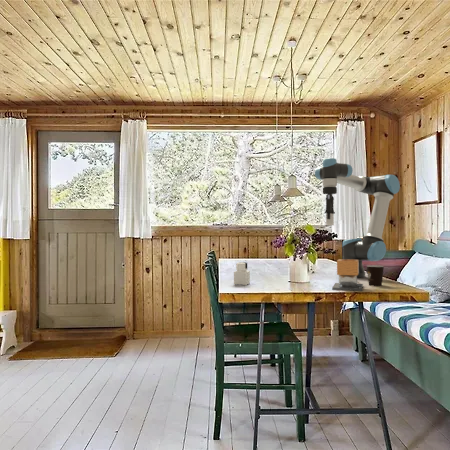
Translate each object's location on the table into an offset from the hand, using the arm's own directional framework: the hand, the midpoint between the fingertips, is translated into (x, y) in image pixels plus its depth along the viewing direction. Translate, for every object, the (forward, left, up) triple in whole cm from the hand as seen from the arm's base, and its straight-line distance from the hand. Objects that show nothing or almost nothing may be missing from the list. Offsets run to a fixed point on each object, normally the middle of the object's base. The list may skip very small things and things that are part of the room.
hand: (330, 225), depth 240 cm
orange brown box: (+15, +10, -25) cm, 31 cm away
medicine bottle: (+16, -46, -32) cm, 58 cm away
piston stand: (+15, +10, -32) cm, 36 cm away
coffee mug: (0, +23, -32) cm, 39 cm away
